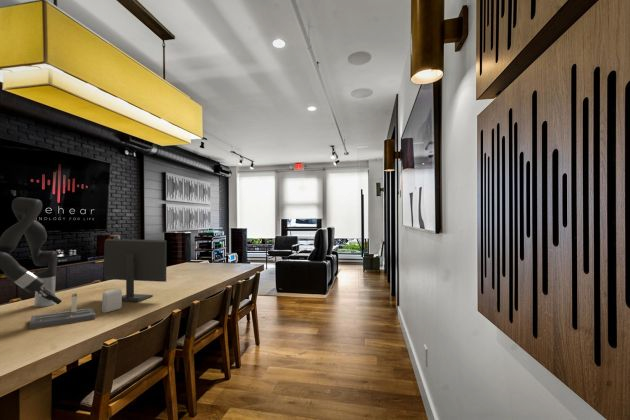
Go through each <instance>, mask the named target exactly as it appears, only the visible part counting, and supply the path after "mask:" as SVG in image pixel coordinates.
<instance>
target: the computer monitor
mask: <svg viewBox="0 0 630 420" xmlns="http://www.w3.org/2000/svg"><path fill="white" fill-rule="evenodd" d="M167 242H168V241H167V240H165V239H164V240H163V239H131V238H129V239H126V238H125V239H124V238H106V239H105V240H104V244H103V245H104V247H103V252H104V253H103V254H104V255H103V256H104V257H103V260H104V261H103V277H104V279H105V280H112V281H113V280H114V281H115V280H116V281H117V280H118V281H125V283H126V284H125V286H126V287H125V294H122V302H123V303H124V302H125V303H126V302H127V303H129V302H130V303H139V302H142V301H144V300H147V299H150V298H152V297H153V296H154V295H153V294H140V293H135V282H136V281H138V282H140V281H141V282H161V283H165V282H166V283H167V261H168V259H167V258H168V257H167V255H168V254H167V252H168V251H167V247H168V245H167Z"/></svg>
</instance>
